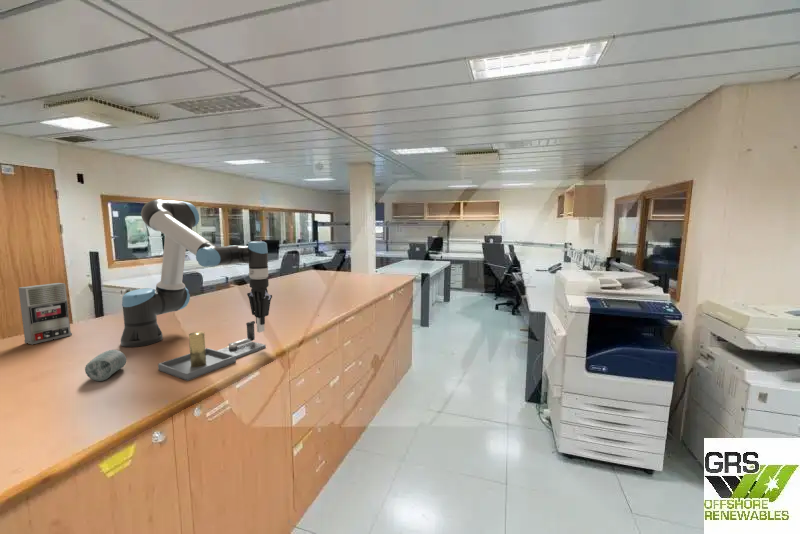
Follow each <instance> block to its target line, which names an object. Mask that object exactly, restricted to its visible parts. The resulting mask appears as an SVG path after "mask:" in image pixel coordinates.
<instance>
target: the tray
mask: <svg viewBox="0 0 800 534" xmlns="http://www.w3.org/2000/svg"><path fill="white" fill-rule="evenodd" d="M205 351H206V364H205V365H204V366H201V367H191V361H190V353H188V354H187V353H186V354H184V355H181V356H179V357H175V358H172V359H168V360H165V361H163V362H159V363H157V366H158V371H159V372H162V373H164V374H167V375H170V376H173V377H175V378H178V379H181V380H183V381H186V382H189V381H191V380H193V379H197V378H199V377H201V375H202V376H204V375H206V373H207V374H209V373H212V372H214V371H216V370H219V369H222V368H224V367H227V366H229V365H232V364H234V363H236V362H237V359H236V356H234V355H231V354H227V353H224V352H220V351H217V350H216V349H213V348H209V347H207V348H206V347H205ZM203 374H204V375H203Z"/></svg>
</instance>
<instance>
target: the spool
mask: <svg viewBox="0 0 800 534" xmlns="http://www.w3.org/2000/svg"><path fill="white" fill-rule="evenodd" d="M126 364H127V357H126V355H125V353H124V352H123V351H120V350H118V349H109V350H105V351H104V352H102V353H100V354H98V355H96V356H95V357H94V358H92V359H91V360H90V361H89V362H88V363H87V364H86V365H85V367H84V371H85V374H86V376H87V377H88V378H89V379H91V380H92V381H96V382H103V381H106V380H108V379H109V378H110V377H111V376H112V375H113V374H115V373H116V372H118V371H119V370H121V369H122V368H124V366H125V365H126Z"/></svg>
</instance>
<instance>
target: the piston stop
mask: <svg viewBox="0 0 800 534" xmlns="http://www.w3.org/2000/svg"><path fill="white" fill-rule="evenodd" d="M205 336H206V334H205V332H204V331H194V332H190V333H189V334H188V342H189V343H188V344H189V354H190V361H191V367H201V366H204V365H205V364H206V351H205V349H206V337H205Z"/></svg>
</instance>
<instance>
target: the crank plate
mask: <svg viewBox="0 0 800 534" xmlns="http://www.w3.org/2000/svg"><path fill="white" fill-rule="evenodd" d="M266 346H267V345H266V344H264V343H259V342H255V341H250V342H247V343H244V344H241V345H238V346H237V349H233V350H230V349H229V345H228V346H226V347H223V348H219V349H218V350H217V351H220V352H224V353H227V354H231V355H234V356H236V360H237V359H238V358H242V357H244V356H248V355H250V354H252V353H255V352H257V351H260V350H262V349H265V348H267V347H266Z"/></svg>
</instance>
